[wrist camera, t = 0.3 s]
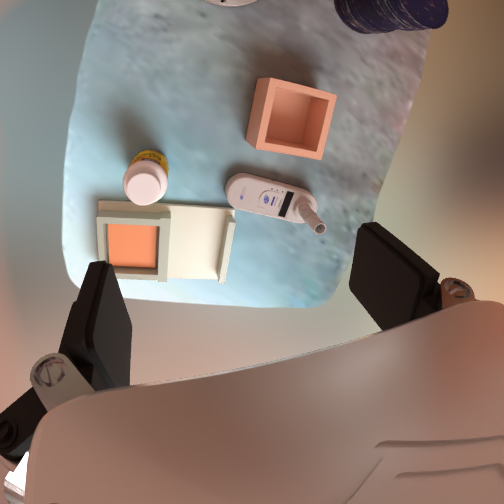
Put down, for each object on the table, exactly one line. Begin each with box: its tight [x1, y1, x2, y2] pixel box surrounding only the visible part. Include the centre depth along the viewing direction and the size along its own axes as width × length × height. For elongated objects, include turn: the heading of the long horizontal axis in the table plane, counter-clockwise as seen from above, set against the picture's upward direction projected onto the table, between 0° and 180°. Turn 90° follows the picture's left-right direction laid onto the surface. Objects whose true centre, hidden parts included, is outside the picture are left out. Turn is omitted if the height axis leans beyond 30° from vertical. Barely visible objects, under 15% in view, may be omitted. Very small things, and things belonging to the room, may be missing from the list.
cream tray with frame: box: [96, 200, 236, 283], centre depth 46 cm, size 13×21×3 cm, turn 79°
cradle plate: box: [108, 224, 157, 268], centre depth 45 cm, size 8×8×1 cm
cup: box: [245, 78, 337, 160], centre depth 39 cm, size 10×10×6 cm
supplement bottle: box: [123, 149, 169, 205], centre depth 36 cm, size 6×6×10 cm
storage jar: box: [334, 0, 449, 34], centre depth 27 cm, size 10×10×15 cm
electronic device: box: [225, 173, 326, 235], centre depth 44 cm, size 5×10×15 cm
